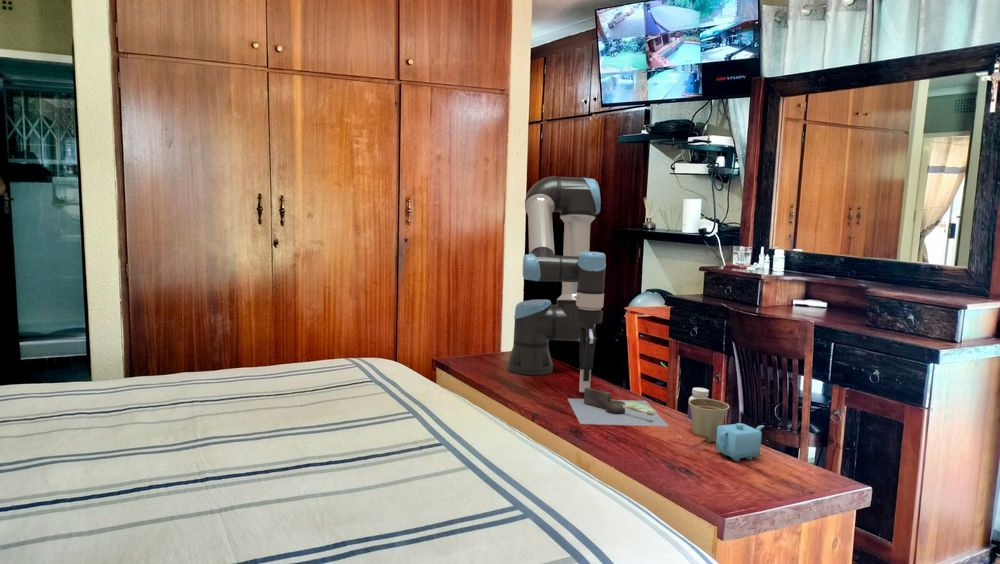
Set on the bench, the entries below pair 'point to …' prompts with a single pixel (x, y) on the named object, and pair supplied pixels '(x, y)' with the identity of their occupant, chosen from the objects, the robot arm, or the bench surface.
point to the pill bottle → (696, 394)
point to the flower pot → (707, 417)
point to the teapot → (739, 441)
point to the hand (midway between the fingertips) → (584, 391)
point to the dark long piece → (608, 402)
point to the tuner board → (616, 414)
